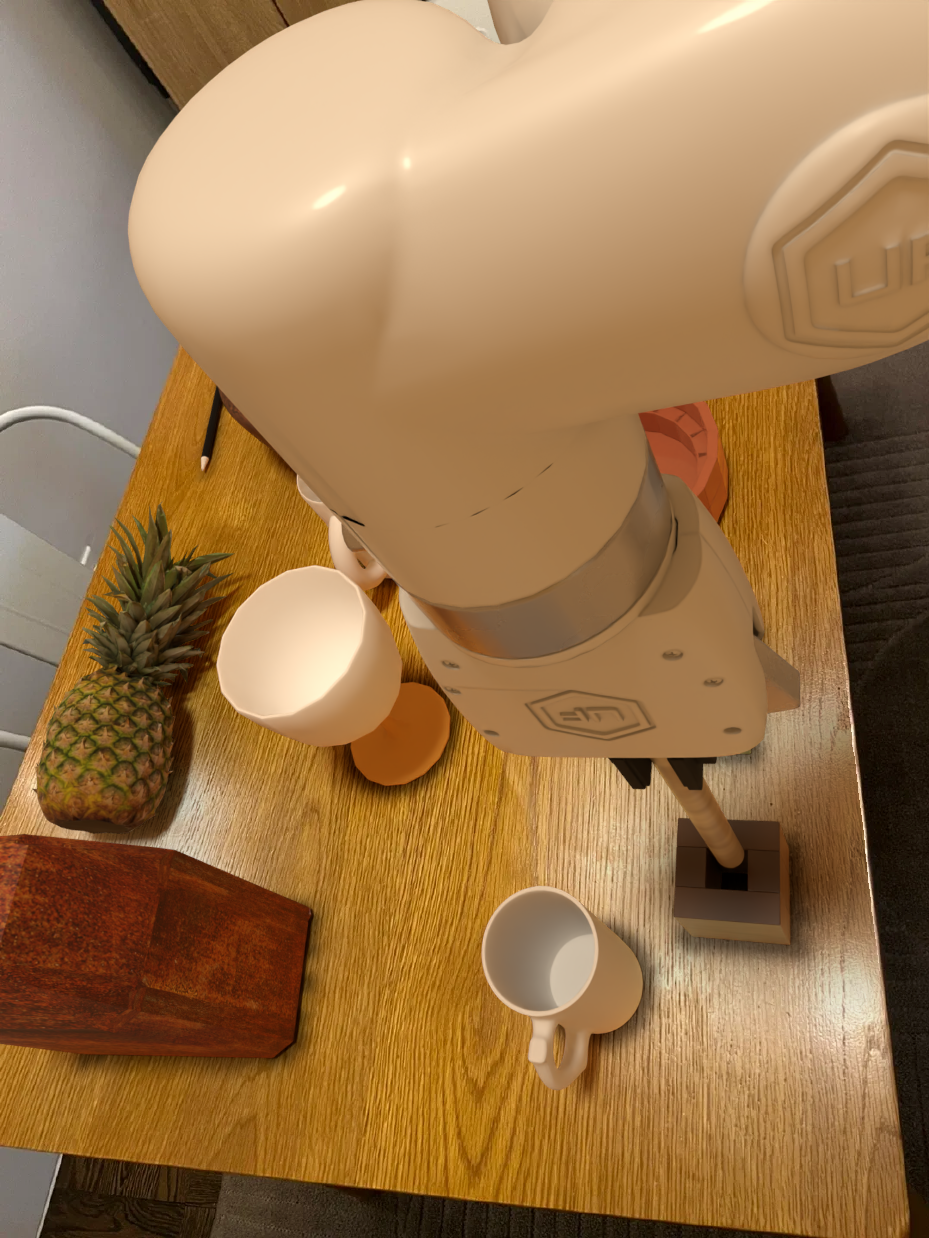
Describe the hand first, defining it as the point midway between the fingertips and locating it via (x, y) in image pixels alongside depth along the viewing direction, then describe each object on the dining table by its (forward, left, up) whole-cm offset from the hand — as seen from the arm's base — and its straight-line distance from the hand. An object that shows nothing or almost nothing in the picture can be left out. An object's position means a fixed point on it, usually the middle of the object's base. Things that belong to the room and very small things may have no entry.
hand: (669, 755), depth 39 cm
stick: (0, 0, -17) cm, 17 cm away
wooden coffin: (+41, +10, -25) cm, 49 cm away
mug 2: (+9, +8, -24) cm, 27 cm away
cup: (+27, -11, -25) cm, 38 cm away
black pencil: (+59, -51, -24) cm, 82 cm away
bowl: (+10, -32, -24) cm, 41 cm away
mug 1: (+31, -28, -25) cm, 48 cm away
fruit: (+52, -15, -25) cm, 59 cm away
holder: (0, 0, -24) cm, 24 cm away
